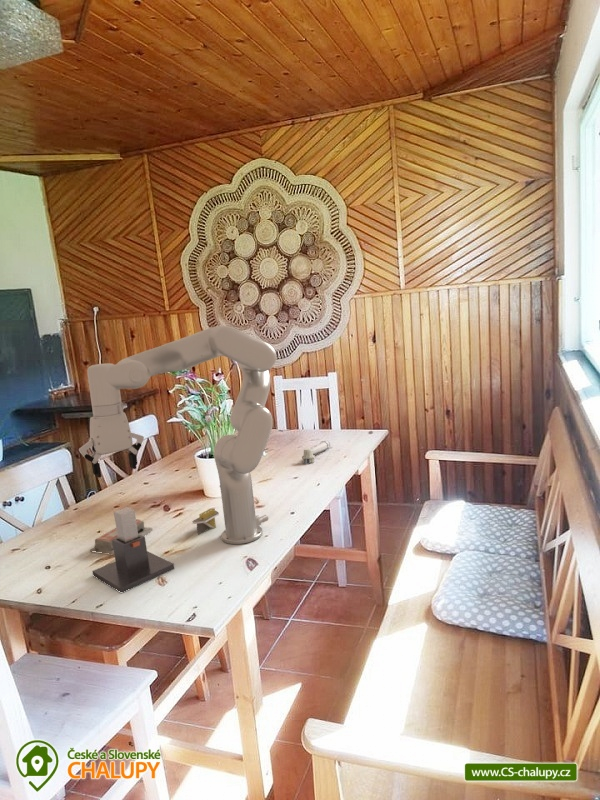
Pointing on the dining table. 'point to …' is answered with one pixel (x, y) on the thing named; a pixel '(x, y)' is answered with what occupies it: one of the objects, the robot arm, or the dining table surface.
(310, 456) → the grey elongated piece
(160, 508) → the dining table surface
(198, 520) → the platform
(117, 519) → the column
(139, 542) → the stand housing
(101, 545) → the packaged product
